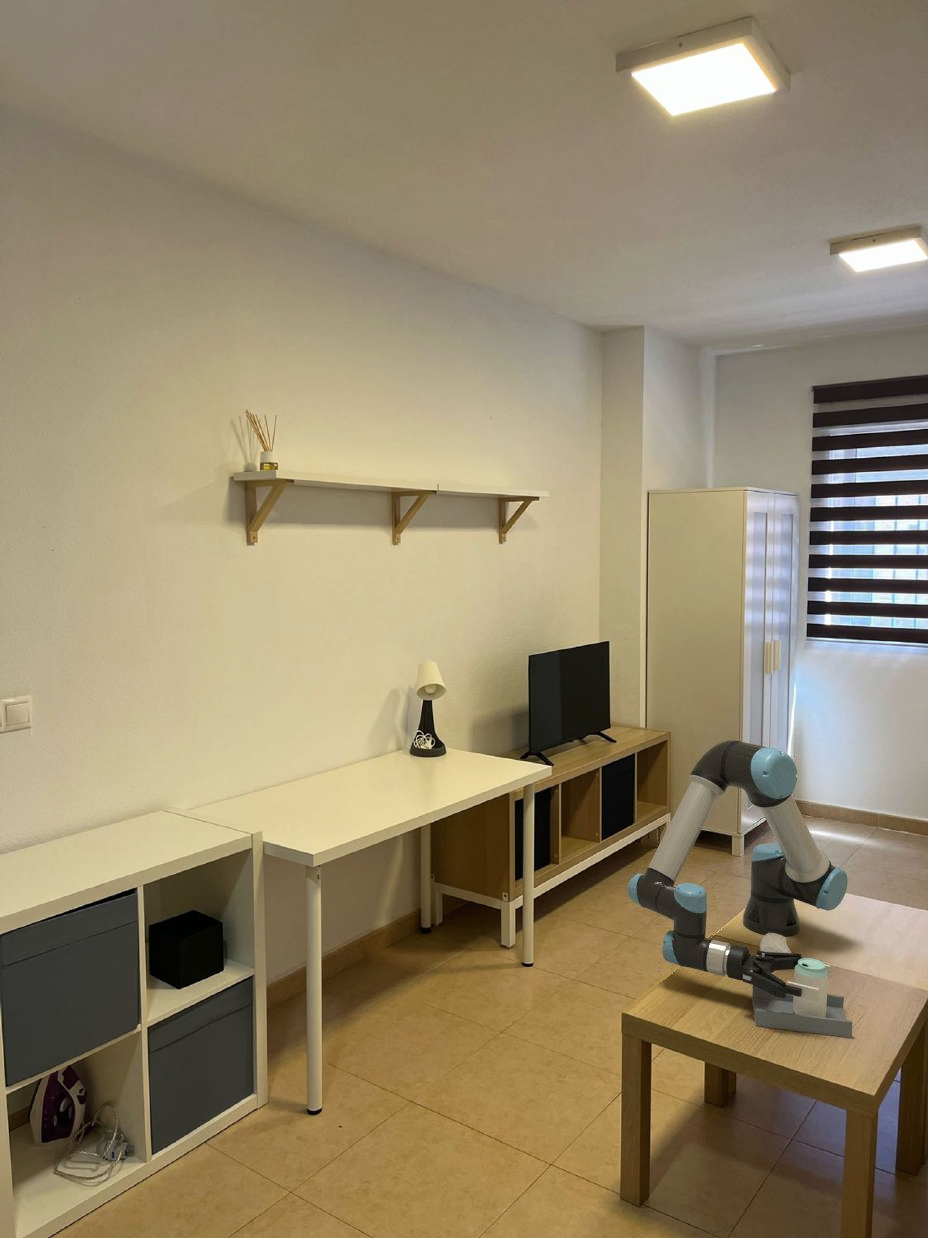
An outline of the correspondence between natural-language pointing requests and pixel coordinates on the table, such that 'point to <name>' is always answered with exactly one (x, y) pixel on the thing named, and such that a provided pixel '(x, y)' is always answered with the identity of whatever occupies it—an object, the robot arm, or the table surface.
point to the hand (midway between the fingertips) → (824, 983)
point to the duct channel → (799, 1015)
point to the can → (813, 976)
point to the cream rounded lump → (774, 943)
